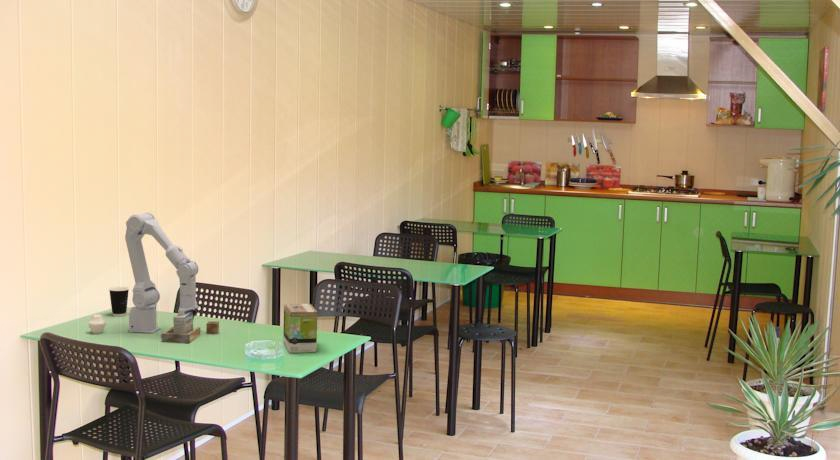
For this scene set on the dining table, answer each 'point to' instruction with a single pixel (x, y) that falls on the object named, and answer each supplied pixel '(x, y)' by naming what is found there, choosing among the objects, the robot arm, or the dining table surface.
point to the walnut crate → (212, 327)
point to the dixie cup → (119, 300)
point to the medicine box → (183, 323)
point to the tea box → (300, 328)
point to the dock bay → (180, 336)
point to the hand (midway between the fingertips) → (188, 330)
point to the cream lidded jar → (97, 324)
